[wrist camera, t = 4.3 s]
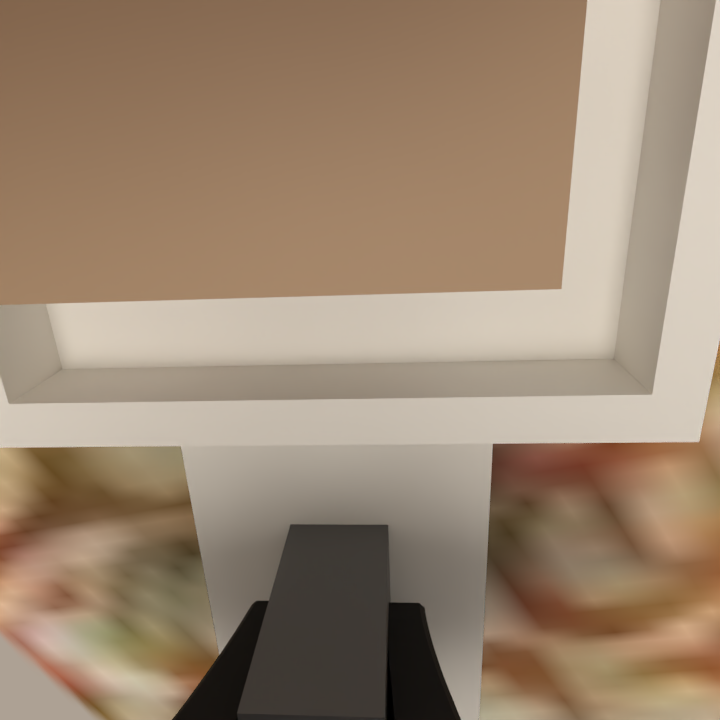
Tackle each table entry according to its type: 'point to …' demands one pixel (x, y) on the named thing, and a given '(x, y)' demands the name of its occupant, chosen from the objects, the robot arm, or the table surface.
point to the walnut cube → (284, 147)
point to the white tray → (411, 388)
